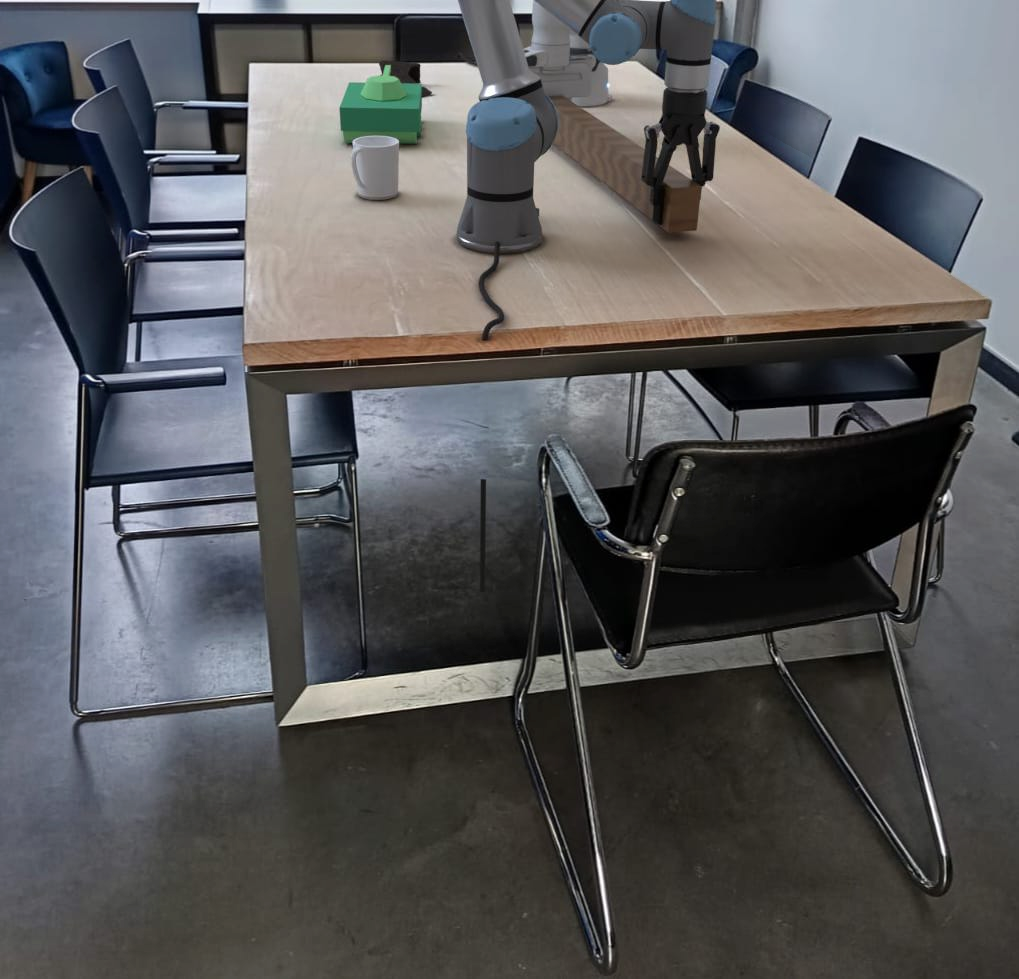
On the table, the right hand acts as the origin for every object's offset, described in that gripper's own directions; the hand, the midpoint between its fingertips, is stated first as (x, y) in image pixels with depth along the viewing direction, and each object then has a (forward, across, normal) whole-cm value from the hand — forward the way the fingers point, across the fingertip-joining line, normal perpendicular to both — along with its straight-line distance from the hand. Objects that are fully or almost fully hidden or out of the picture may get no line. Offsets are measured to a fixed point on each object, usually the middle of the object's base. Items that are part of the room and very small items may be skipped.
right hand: (548, 118), depth 257 cm
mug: (+4, +49, +36) cm, 61 cm away
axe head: (+5, +22, -58) cm, 62 cm away
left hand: (+2, 0, +72) cm, 72 cm away
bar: (+3, 0, +36) cm, 36 cm away
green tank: (+5, +36, -17) cm, 40 cm away
